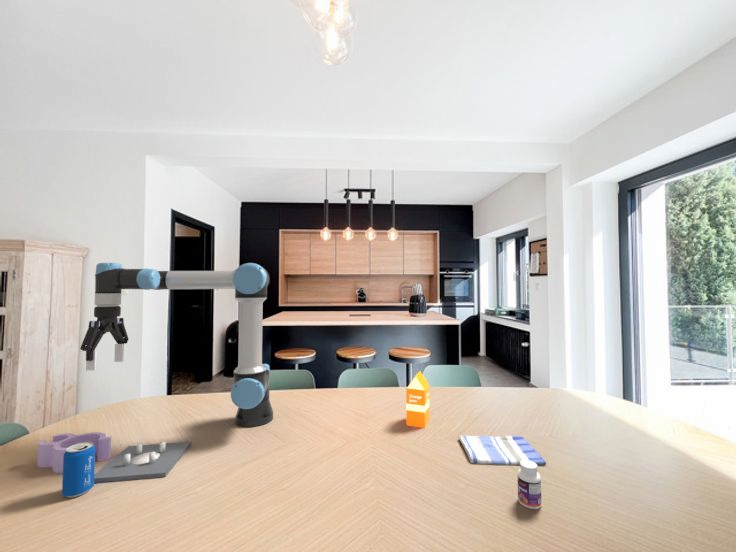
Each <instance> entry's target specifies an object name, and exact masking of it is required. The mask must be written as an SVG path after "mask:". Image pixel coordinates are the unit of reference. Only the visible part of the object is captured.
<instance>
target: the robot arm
mask: <svg viewBox="0 0 736 552" xmlns="http://www.w3.org/2000/svg"><path fill="white" fill-rule="evenodd" d="M94 277H95V278H94V279H95V280H94V281H95V283H94V285H95V286H94V307H93V317H94V318H96V320H89V322H88V328H87V330H86V333H85V335H84V337H83V340H82V343H81V345H80V351H82V352H85V371H96V370H97V362H98V361H97V356H98V350H96V349H97V347H98V345H99V343H100V341H101V340H102V338H103V336H104V335H105V334H107V333H110V334H111V336H112V338H113V339H114V341H115V342H116V344H114V359H113V360H114V363H118V362H119V363H121V362H124V355H125V354H124V350H125V344H128V342H129V341H130V340H129V335H128V332H127V330H126V327H125V323H124V321H125V320H124V319H125V318H124V317H120V316H121V313H122V312H121V311H122V307H121V305H122V290H145V291H146V290H147V291H148V290H149V291H150V290H155V291H156V290H158V291H161V290H210V289H211V290H229V289H230V290H231V289H232V290H234V291H235V292H234V294H235V295H234V299H235V300H236V301H237V302H238V304H239V305H238V306H239V307H238V347H237V349H238V351H237V352H238V353H237V354H238V357H237V358H238V359H237V360H238V361H237V363H238V364H237V367H235V369H234V370H233V385H232V387H231V389H230V398H231V399H230V400H231V401H232V403H233V404H234V405H235V406H236V407H237V411H236V414H235V417H234V418H235V419H234V420H235V421H234V422H235V424H236V425H237V426H240V427H246V428H250V427H252V428H253V427H259V426H263V425H266V424H267V423H270V422H272V420H274V410H273V406H272V404H271V401H270V373H271V370H270V365H269V364H268V363H263V323H264V322H263V313H264V312H263V307H264V305H263V303H264V302H265V301H266V300H267V299H268V286H269V284H270V281H271V280H270V279H271V278H270V274H269V272H268V270H267V269H265V267H263V266H261V265H260V264H257V263H254V262H247V263H243V264H241V265H240V266H239V267H236V268H235V269H234V270H157V269H154V268H123V265H122V263H120V262H119V263H118V262H99V263H97V264H96V267H95V274H94Z"/></svg>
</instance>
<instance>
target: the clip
mask: <svg viewBox="0 0 736 552" xmlns="http://www.w3.org/2000/svg"><path fill="white" fill-rule="evenodd" d="M83 442H92V443H93V445H94V446H95V456H97V462H102V461H107V460H110V459H111V452H112V451H111V449H112V448H111V446H112V436H107V435H106V433H104V432H100V431H99V432H98V431H97V432H96V431H95V432H93V431H92V432H87V433H86V432H85V433H80V434H75V433H68V432H67V433H59V434H58V433H57V434H54V435H52V441H51V442H46V439H42V440H39V441H38V445H37V465H36V466H37V467H38V468H52V472H53V473H54V474H63V457H64V453H65V452H66V449H67V448H68V447H70V446H72V445H75V444H78V443H83Z"/></svg>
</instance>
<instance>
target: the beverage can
mask: <svg viewBox="0 0 736 552" xmlns="http://www.w3.org/2000/svg"><path fill="white" fill-rule="evenodd" d="M95 462H96V455H95V446H94V445H93V443H92V442H83V443H78V444H75V445H72V446H70V447H68V448H67V449H66V452H65V453H64V457H63V473H62V484H61V485H62V486H61V489H62V490H61V495H62V496H63V497H65V498H70V499H71V498H72V499H73V498H77V497H80V496H83V495H85V494H86V493H89V492H90V491H91V489H92V488H93V487H94V486H95V483H94V474H95V467H96V466H95V465H96V463H95Z"/></svg>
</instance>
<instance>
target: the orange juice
mask: <svg viewBox="0 0 736 552" xmlns="http://www.w3.org/2000/svg"><path fill="white" fill-rule="evenodd" d="M405 389H406V390H405V391H406V397H405V399H406V405H405V409H406V426H409V427H410V426H411V427H417V428H422V429H425V428H426V427H427V425H428V423H429V422H430V384H429V382H428V381H427V379H426V377H425V376H424V374H422V371H421V370H419V371H418V372H417V373H416V375H414V377H413V379H412V380H411V381H410V383H409V385H408V386H407V387H406V388H405Z"/></svg>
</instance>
